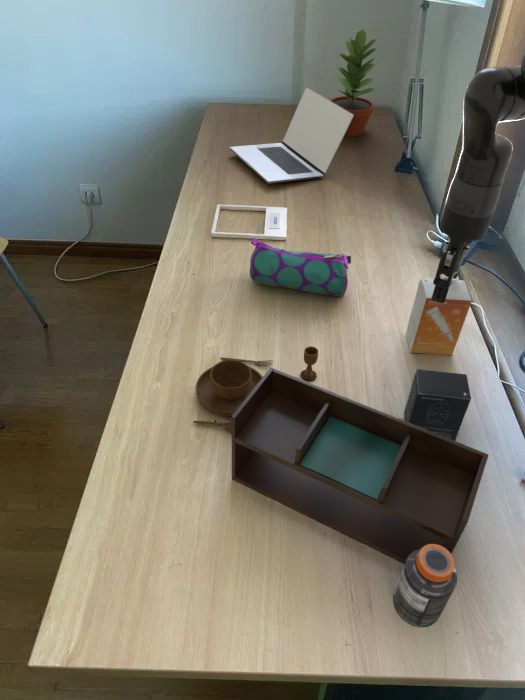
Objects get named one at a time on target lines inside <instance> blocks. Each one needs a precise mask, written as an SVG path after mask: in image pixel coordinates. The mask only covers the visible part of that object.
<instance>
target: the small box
mask: <svg viewBox="0 0 525 700" xmlns="http://www.w3.org/2000/svg"><path fill="white" fill-rule="evenodd" d="M434 279H435V278H423V277H421V278H420V280H419V282H418V286H417V290H416V293H415V297H414V300H413V304H412V307H411V311H410V315H409V319H408V323H407V327H406V331H405V335H406V338H407V343H408V347H409V352H410V353H411V354H427V355H429V354H432V355H433V354H434V355H444V356H445V355H447V356H452V355H453V354H454V352H455V349H456V347H457V343H458V341H459V338H460V335H461V332H462V329H463V326H464V323H465V322H466V318H467V315H468V313H469V309H470V307H471V304H472V301H473V300H472V297H471V295H470V292H469V289H468V286H467V284H466V281H465V280H462V279H461V280H459V279H453V280H452V284H451V285H450V287H449V290H448V293H447V296H446V299H445V301H444V303H439V302H436V301H433V300H432V295H433V292H434V288H435V285H434V284H433V283H434V282H433V281H434Z"/></svg>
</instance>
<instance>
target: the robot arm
mask: <svg viewBox="0 0 525 700" xmlns="http://www.w3.org/2000/svg"><path fill="white" fill-rule="evenodd" d="M462 114H463V115H462V124H463V125H462V150H461V153H460V155H459V159H458V163H457V166H456V170H455V174H454V177H453V179H452V180H451V183H450V186H449V188H448V193H447V196H446V199H445V203H444V206H443V211H442V214H441V217H440V221H439V229H440V230H441V231H442V233H443V234H444V235H446V236H447V240H445V241H444V243H443V246H442V253H441V254H440V258H439V261H438V264H437V269H436V272H435V275H434V278H433V279H434V281H433V282H434V283H433V284H434V285H435V288H434V292H433V295H432V300H433V301H436V302H439V303H444V301H445V299H446V296H447V293H448V290H449V287H450V285H451V284H452V280H457V278H458V276H459V274H460V273H459V272H460V270H461V267H462V265H463V262H464V260H465V259H466V258H467V256H468V255H469V252H470V250H471V248H472V246H473V242H476V241H480V240H482V239H484V238H485V237H486V236H487V234H488V232H489V228H490V226H491V223H492V220H493V217H494V214H495V211H496V208H497V205H498V203H499V199H500V197H501V192H502V186H503V183H504V179H505V176H506V174H507V171H508V168H509V165H510V162H511V160H512V155H513V151H514V150H513V149H514V146H513V143H512V142H511V140H510V139H508V137H505V136H503V135H500V134H497V126H498V124H499V123H506V122H515V121H520V120H524V119H525V51H524V53H523V54H522V56H521V60H520V64H519V65H518V64H515V65H505V66H492V67H491V66H490V67H486V68H483V69H481V70H479V71H478V72H477V73H475V74H474V76H473V77H472V79H471V80H470V81H469V83H468V84H467V86H466V89H465V92H464V96H463V104H462ZM442 275H443V276H442Z"/></svg>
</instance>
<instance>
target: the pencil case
mask: <svg viewBox="0 0 525 700" xmlns="http://www.w3.org/2000/svg"><path fill="white" fill-rule="evenodd" d="M250 243H251V245H252V246H255V247H254V249H253V251H252V253H251V255H250V261H249V277H250V279H251V280H252V281H253V282H255V283H258V284H261V285H267V286H272V287H280V288H285V289H287V288H288V289H293V290H299V291H303V292H308V293H315V294H321V295H326V296H335V297H343V296H345V295H346V292H347V289H348V284H349V280H348V269H349V265H351V264H352V256H351V255H347V254H346V253H323V252H322V253H321V252H320V253H318V252H313V251H295V250H287V249H284V248H279V247H274V246H272V245H270V244H268V243H266V242H263V241H260V240H259V241H258V239H256V238H255V237H254V238H253V239H252V240H251V242H250Z"/></svg>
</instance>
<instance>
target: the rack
mask: <svg viewBox="0 0 525 700" xmlns="http://www.w3.org/2000/svg"><path fill="white" fill-rule="evenodd" d="M230 422H231V430H230V433H231V435H230V436H231V438H230V439H231V480H232V481H234V482H236V483H238V484H240V485H242V486H244V487H246V488H249V489H250V490H253V491H254V492H257V493H259V494H261V495H263V496H265V497H267V498H269V499H271V500H273V501H274V502H277V503H279V504H281V505H283V506H285V507H288V508H290V509H291V510H293V511H295V512H297V513H300V514H302V515H303V516H306V517H308V518H309V519H312V520H314V521H316V522H318V523H320V524H322V525H324V526H326V527H328V528H330V529H332V530H334V531H336V532H338V533H341V534H343V535H344V536H347V537H348V538H351V539H352V540H355V541H356V542H359V543H361V544H362V545H365V546H367V547H369V548H371V549H373V550H375V551H377V552H379V553H381V554H383V555H385V556H388V557H389V558H391V559H393V560H395V561H398V562H400V563H401V564H403V565H404V564H405V562H406V560H407V558H408V556H409V555H410V554H411V553H412V552H414V551H415V550H418V549H421V548H422V547H424V546H425V545H428V544H437V545H440V546H442V547H444V548H446V549H447V550H448V551H449V552H450V553H451V555H452V554H453V553H454V550H455V548H456V547H457V545H458V542H459V540H460V539H461V537H462V535H463V533H464V530H465V528H466V527H467V525H468V523H469V520H470V517H471V513H472V510H473V506H474V504H475V500H476V497H477V494H478V491H479V487H480V484H481V482H482V477H483V474H484V471H485V468H486V465H487V462H488V459H489V454H488V453H486V452H483V451H481V450H479V449H476V448H473V447H471V446H468V445H466V444H463V443H461V442H458V441H456V440H455V441H454V440H451V439H449V438H446V437H444V436H441V435H439V434H436V433H434V432H431V431H429V430H426V429H424V428H421V427H419V426H416V425H414V424H411V423H409V422H406V421H404V419H402V418H401V419H400V418H399V417H396V416H393V415H391V414H389V413H386V412H383V411H381V410H378V409H376V408H373V407H370V406H368V405H365V404H364V403H361V402H358V401H357V400H354V399H351V398H348V397H345V396H344V395H341V394H339V393H336V392H333V391H330V390H328V389H326V388H323V387H321V386H318V385H316V384H313V383H310V382H309V381H306V380H304V379H302V378H298V377H296V376H294V375H291V374H288V373H286V372H283V371H281V370H278V369H276V368H273V367H270V368H269V369H268V370H267V371H266V372H265V373H264V374H263V375H262V379H261V380H260V381H259V382H258V384H257V385H256V386H255V387H254V389H253V390H252V391H251V392H250V394H249V395H248V396H247V397H246V399H245V400H244V401H243V402H242V404H241V405H240V406H239V407H238V409H237V410H236V411H235V413H234V414H233V415H232V416H230Z"/></svg>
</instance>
